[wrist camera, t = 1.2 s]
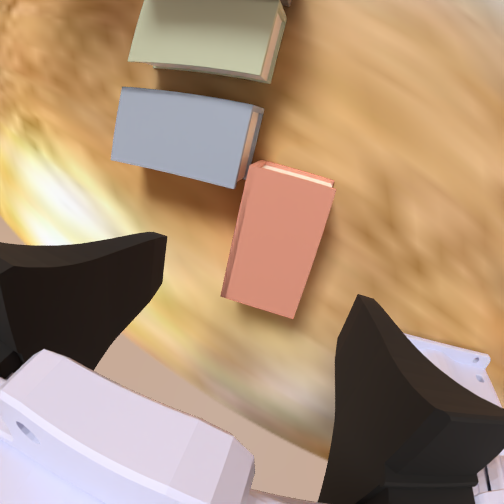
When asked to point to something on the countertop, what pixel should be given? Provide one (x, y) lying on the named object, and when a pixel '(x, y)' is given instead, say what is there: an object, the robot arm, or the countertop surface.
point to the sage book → (211, 36)
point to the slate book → (186, 134)
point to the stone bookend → (286, 2)
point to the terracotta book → (276, 236)
